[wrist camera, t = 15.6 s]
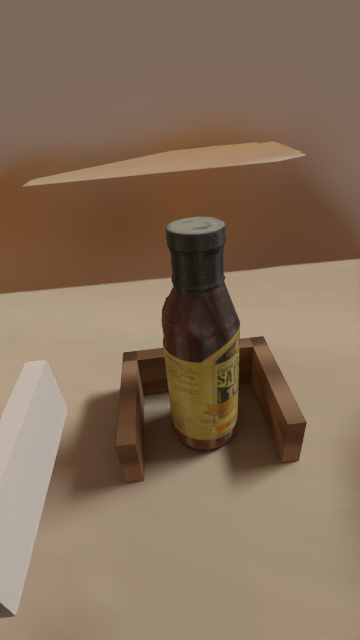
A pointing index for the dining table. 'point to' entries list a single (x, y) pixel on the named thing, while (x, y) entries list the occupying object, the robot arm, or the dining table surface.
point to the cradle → (254, 366)
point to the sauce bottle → (200, 335)
